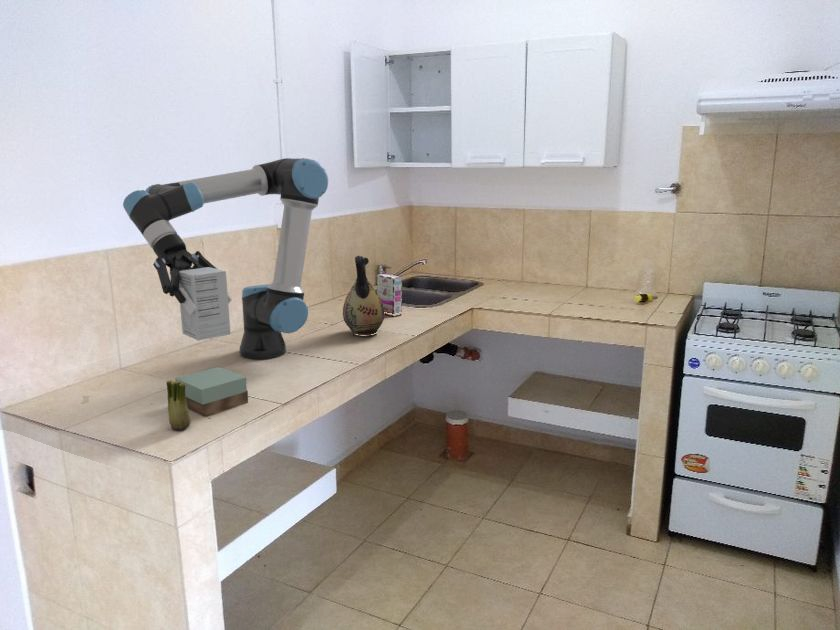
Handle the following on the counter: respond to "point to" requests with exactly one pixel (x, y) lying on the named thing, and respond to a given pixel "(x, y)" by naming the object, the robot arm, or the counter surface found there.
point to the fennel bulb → (177, 406)
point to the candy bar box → (390, 292)
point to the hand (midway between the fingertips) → (212, 306)
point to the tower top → (212, 385)
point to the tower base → (217, 404)
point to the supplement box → (205, 303)
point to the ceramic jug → (363, 303)
